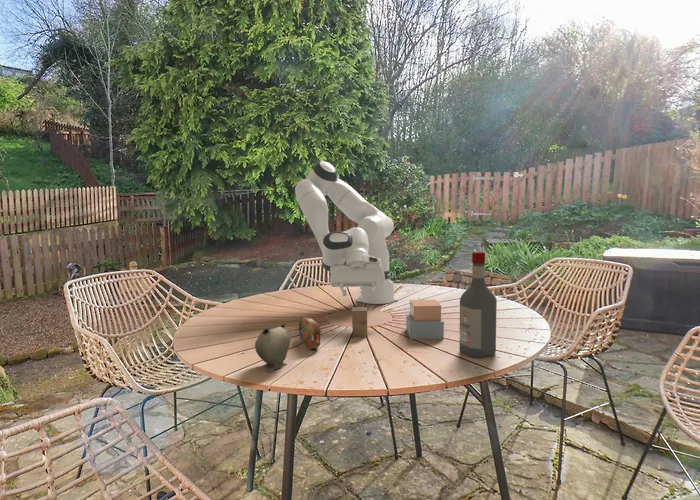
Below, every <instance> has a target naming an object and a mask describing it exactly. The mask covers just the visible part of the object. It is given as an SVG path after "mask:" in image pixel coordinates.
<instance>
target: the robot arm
mask: <svg viewBox="0 0 700 500" xmlns="http://www.w3.org/2000/svg"><path fill="white" fill-rule="evenodd" d="M294 192H295V196H296V197H295V198H296V200H297V203H298V205H299V207H300V210H301V211H302V214H303V215H304V216H305V219H306V221H307V223H308V225H309V226H310V229H311V231H312V233H313V235H314V238H315V241H316V243H317V245H318V248H319V250H320V253H321V266H322V268H323V269H324V270H326V271H327V272H329V273H330V277H329V285H330V286H331V287H333V288H337V287H338V288H339V290H340V291H341V295H342V297H347V292H348V291H347V289H345V288H349V287H352V288H353V287H355V288H357V287H360V289H359V290H360V291H359V292H360V295H358V297H357V298H356V302H359V303H364V304H370V305H385V304H390V303H393V302H398V301H399V298H398V297H397V296H396V295H395V285H394V282H393V281H392V280H391V269H390V252H389V250H388V247H387V242H386V238H387V237H389V236H390V235H391V234H392V232H393V231H394V228H395V227H394V226H395V225H394V224H395V223H394V221H393V220H392V219H391V217H389V216H388V215H386V214H385V213H384V212H382V211H381V210H380V209H378V208H377V207H376V206H374V205H372V204H371V203H369V201H367V200H366V199H365V198H364V197H363V196H361V194H359V192H357V191H356V190H355V189H354V188H353V187H352V186H351V185H349V184H348V183H347V182H345V181H344V180H342V179H341V178H339V175H338V172H337V170H336V168H335V166H334V165H333V164H331V163H330V162H328V161H325V160H319V161H317V162H316V163H315V164H314V165H313V167H312V169H311V170H310V172H309V173H308V175H307V176H306V178H304V179H301V180H299V181H298V182H297V183H296V185H295V187H294ZM325 196H328V197H329V199H330V200H331V202H332V203H333V205H335V206H336V207H337V208H338V209H339V210H340V211H341V212H342V213H343V214H344V215H345V216H346V217H347V218H348V219H349V220H350V221H353V222H354V223H356V224H358V225H357V226H356V227H355V226H354V227H351V228H349V229H347V230H345V231H331V232H330V228H329V207H328V202H327V199H326V197H325Z"/></svg>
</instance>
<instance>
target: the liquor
mask: <svg viewBox="0 0 700 500" xmlns="http://www.w3.org/2000/svg"><path fill="white" fill-rule="evenodd" d="M471 253H472V254H471V264H472V271H471V273H472V274H471V275H472V277H471V282H470V283H471V284H470V286H469V287H468V288H466V290H465V291H464V292H463V293H462V294H461V296H460V298H459V351H460V353H462V354H464V355H466V356H468V357H470V358H474V359H475V358H476V359H484V358H488V357H492V356H493V357H494V355H495V354H496V350H497V304H498V303H497V302H498V301H497V300H498V299H497V297H496V295H495V294H494V293H493V292H492V290H491V289H490V288H488V286H487V284H486V281H485V280H486V277H485V269H486V268H485V264H486V252H485V251H473V252H471Z"/></svg>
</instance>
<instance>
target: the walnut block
mask: <svg viewBox="0 0 700 500" xmlns="http://www.w3.org/2000/svg"><path fill="white" fill-rule="evenodd" d="M351 315H352V316H351V318H352V319H351V321H352V322H351V323H352V324H351V327H352V328H351V329H352V338H368V307H367V306H365V307H364V306H362V307H359V306H358V307H354V306H353V307H352V308H351Z"/></svg>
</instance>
